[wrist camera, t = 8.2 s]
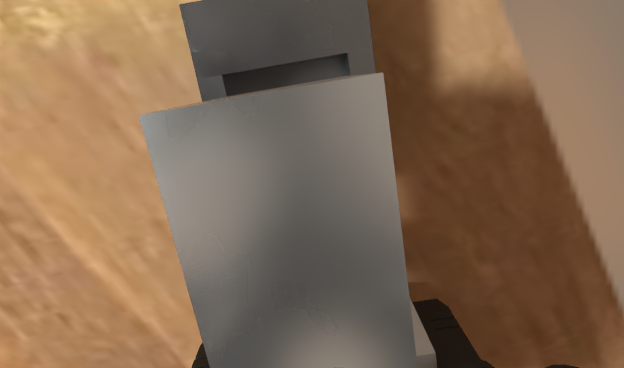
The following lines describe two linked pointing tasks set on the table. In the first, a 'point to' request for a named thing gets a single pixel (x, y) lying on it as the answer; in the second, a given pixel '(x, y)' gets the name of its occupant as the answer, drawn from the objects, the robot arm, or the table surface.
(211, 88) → the rail
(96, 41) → the table surface
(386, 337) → the grey notched block
